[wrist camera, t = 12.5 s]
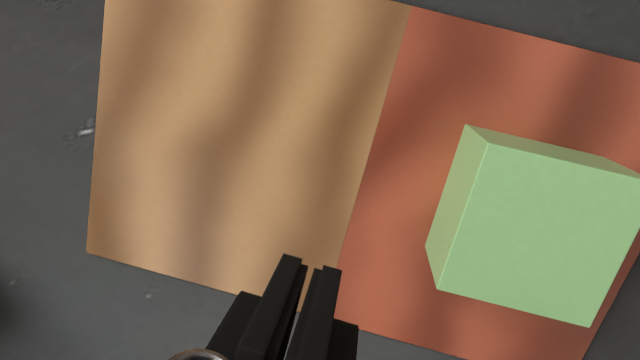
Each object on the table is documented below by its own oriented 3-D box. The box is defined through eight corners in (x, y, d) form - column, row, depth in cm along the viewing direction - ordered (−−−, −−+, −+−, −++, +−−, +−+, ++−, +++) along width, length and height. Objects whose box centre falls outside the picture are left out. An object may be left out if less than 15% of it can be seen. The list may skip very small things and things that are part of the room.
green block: (604, 156, 21) (662, 184, 17) (550, 277, 23) (589, 328, 19) (465, 123, 22) (488, 142, 17) (424, 246, 24) (436, 289, 19)
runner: (726, 85, 20) (729, 85, 20) (565, 385, 25) (566, 387, 25) (112, -70, 21) (110, -71, 21) (87, 251, 27) (86, 252, 26)
